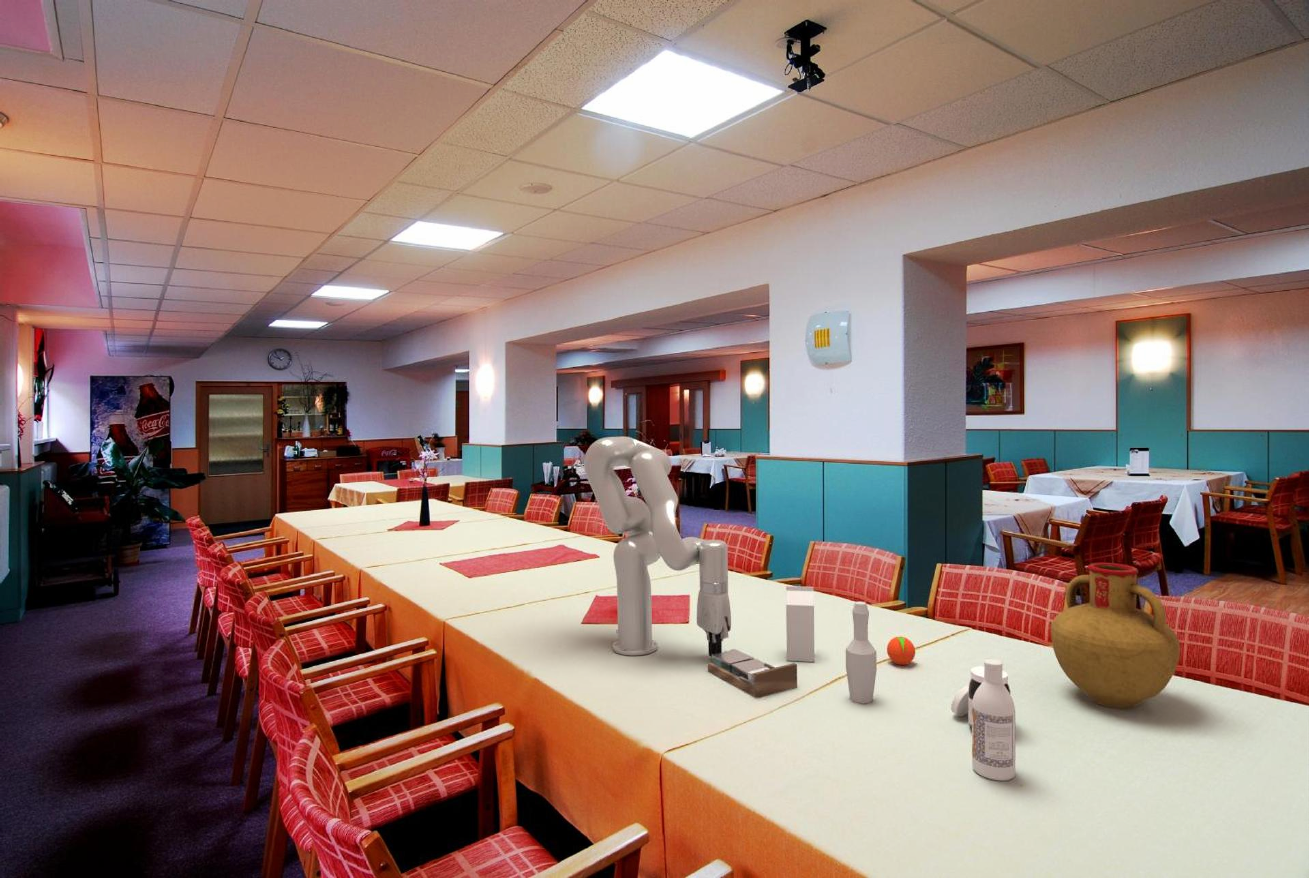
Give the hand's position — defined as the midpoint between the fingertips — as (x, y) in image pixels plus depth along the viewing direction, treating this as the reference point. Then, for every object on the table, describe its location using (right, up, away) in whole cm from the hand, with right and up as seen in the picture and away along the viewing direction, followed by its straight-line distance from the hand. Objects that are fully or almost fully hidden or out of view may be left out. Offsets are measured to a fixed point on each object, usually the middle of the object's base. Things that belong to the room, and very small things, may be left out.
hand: (715, 655), depth 182 cm
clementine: (+48, -1, -5) cm, 48 cm away
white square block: (+8, -2, -13) cm, 16 cm away
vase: (+86, -1, -30) cm, 91 cm away
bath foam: (+45, -2, -59) cm, 74 cm away
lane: (+7, -1, -13) cm, 15 cm away
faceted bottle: (+31, -2, -27) cm, 41 cm away
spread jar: (+51, -2, -40) cm, 65 cm away
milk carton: (+23, -1, +1) cm, 23 cm away
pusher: (+10, -2, -18) cm, 21 cm away
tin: (+4, -2, -6) cm, 7 cm away
